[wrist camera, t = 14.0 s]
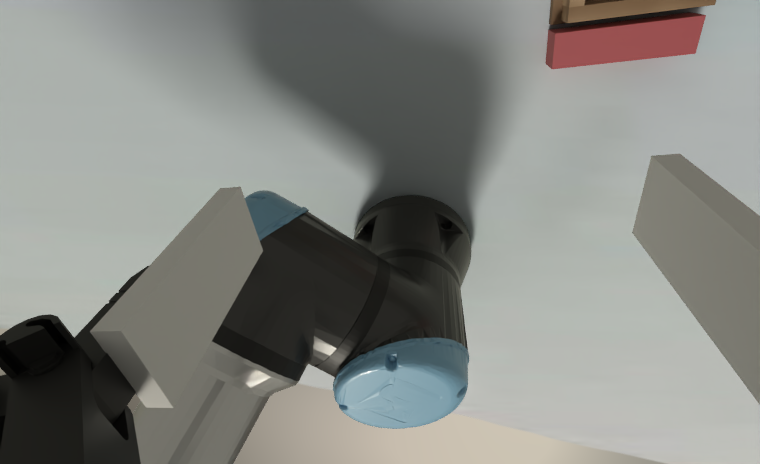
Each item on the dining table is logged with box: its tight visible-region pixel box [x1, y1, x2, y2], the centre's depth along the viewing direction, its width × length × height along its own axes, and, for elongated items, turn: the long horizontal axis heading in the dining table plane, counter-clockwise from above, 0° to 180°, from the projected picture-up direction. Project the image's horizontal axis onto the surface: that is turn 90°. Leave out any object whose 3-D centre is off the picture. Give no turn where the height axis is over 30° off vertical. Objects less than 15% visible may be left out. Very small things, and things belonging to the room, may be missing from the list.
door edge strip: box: [546, 12, 706, 69], centre depth 37 cm, size 3×12×2 cm, turn 98°
